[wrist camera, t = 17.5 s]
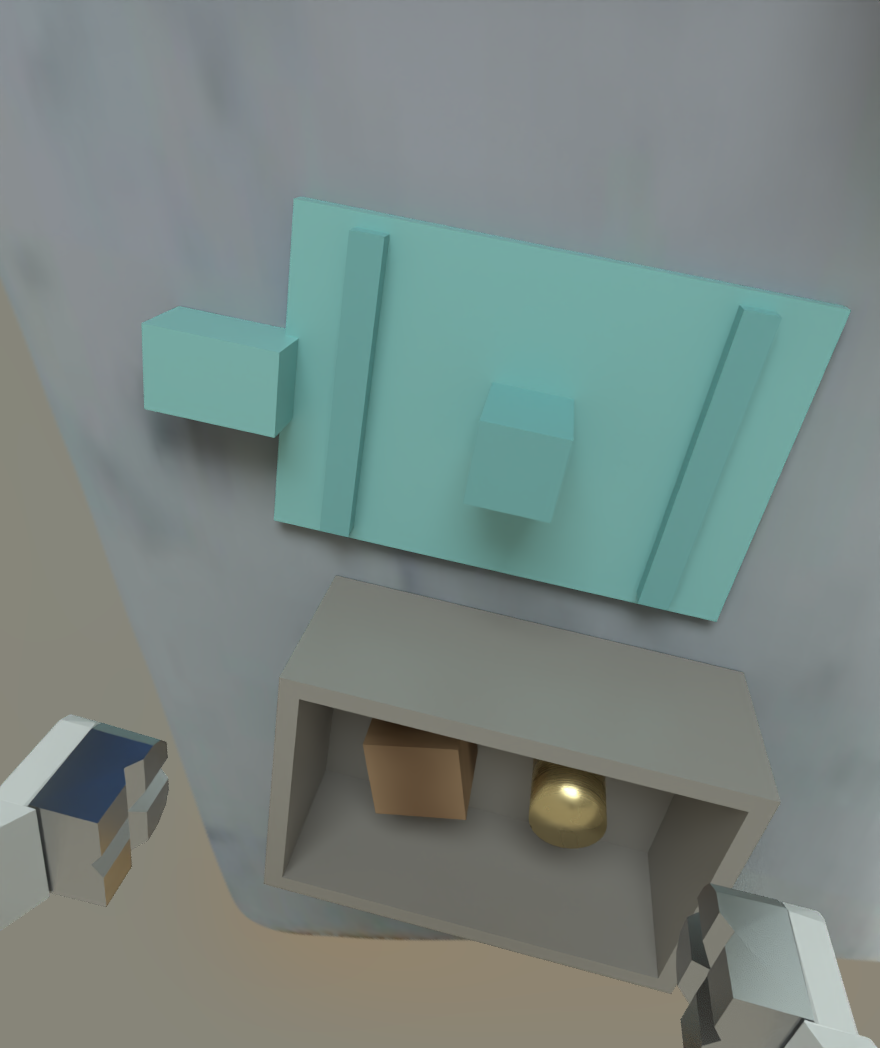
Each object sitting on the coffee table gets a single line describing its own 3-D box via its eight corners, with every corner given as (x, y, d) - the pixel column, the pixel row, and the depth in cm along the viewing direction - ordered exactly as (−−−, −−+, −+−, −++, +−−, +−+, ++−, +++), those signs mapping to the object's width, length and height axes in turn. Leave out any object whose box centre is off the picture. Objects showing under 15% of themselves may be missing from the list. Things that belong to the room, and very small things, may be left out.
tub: (743, 672, 32) (780, 802, 26) (657, 853, 38) (671, 993, 32) (336, 575, 33) (279, 677, 27) (314, 765, 39) (263, 884, 33)
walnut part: (471, 685, 34) (458, 749, 30) (477, 751, 35) (465, 819, 32) (385, 681, 34) (362, 744, 31) (395, 747, 36) (375, 813, 33)
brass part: (613, 735, 34) (616, 805, 30) (594, 784, 35) (595, 856, 32) (543, 717, 34) (538, 785, 30) (527, 766, 35) (521, 837, 32)
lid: (843, 304, 25) (896, 342, 21) (713, 610, 31) (734, 686, 27) (177, 171, 26) (101, 181, 22) (180, 488, 32) (121, 543, 28)
